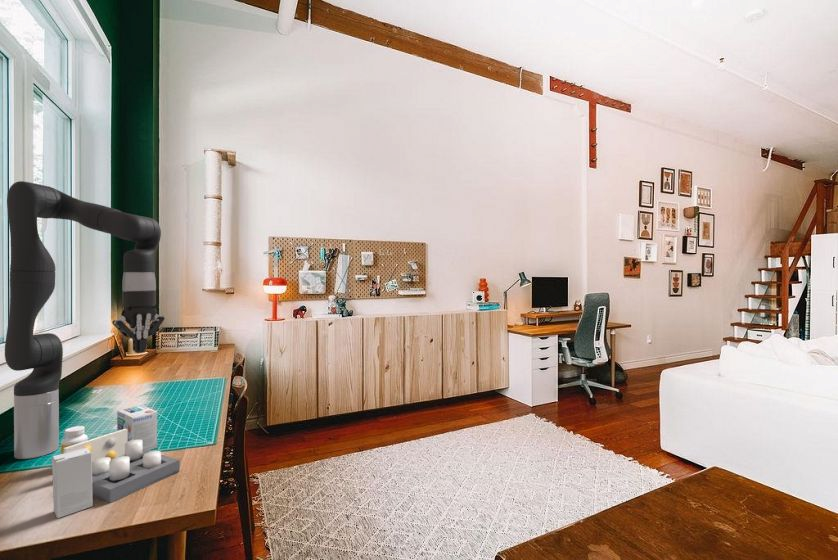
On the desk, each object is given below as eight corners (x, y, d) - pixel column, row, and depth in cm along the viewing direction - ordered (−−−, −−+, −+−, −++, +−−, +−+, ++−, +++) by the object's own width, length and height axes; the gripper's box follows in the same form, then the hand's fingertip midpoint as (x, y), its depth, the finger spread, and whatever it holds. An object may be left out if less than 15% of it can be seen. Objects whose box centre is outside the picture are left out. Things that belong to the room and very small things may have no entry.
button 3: (121, 459, 105) (121, 443, 105) (136, 453, 108) (136, 438, 108) (130, 461, 103) (130, 446, 103) (145, 455, 106) (145, 441, 106)
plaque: (63, 480, 100) (63, 448, 100) (125, 457, 112) (125, 428, 112) (66, 481, 99) (66, 449, 99) (128, 458, 112) (128, 429, 112)
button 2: (105, 478, 95) (105, 461, 95) (123, 471, 98) (123, 455, 98) (115, 481, 93) (115, 464, 93) (133, 474, 97) (133, 458, 96)
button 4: (139, 471, 102) (139, 455, 101) (154, 465, 105) (154, 449, 105) (149, 474, 100) (149, 458, 100) (164, 468, 103) (164, 452, 103)
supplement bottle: (72, 471, 104) (72, 433, 104) (55, 469, 106) (55, 431, 105) (93, 462, 110) (92, 425, 110) (76, 460, 111) (76, 424, 111)
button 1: (87, 478, 98) (87, 462, 98) (105, 471, 101) (105, 456, 101) (96, 482, 96) (96, 465, 96) (114, 474, 100) (114, 459, 100)
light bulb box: (116, 447, 119) (116, 410, 119) (142, 439, 125) (142, 404, 125) (131, 456, 113) (131, 417, 113) (158, 448, 119) (158, 411, 119)
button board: (70, 487, 97) (70, 474, 97) (140, 459, 111) (140, 448, 111) (110, 503, 90) (110, 489, 90) (179, 471, 105) (179, 459, 104)
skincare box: (88, 500, 91) (88, 445, 91) (93, 507, 88) (93, 451, 88) (51, 512, 87) (51, 455, 86) (55, 520, 84) (55, 461, 84)
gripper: (155, 288, 119) (155, 347, 119) (104, 289, 107) (104, 355, 107) (171, 288, 116) (172, 349, 116) (121, 290, 104) (121, 358, 104)
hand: (139, 352), depth 112 cm, fingers closed
